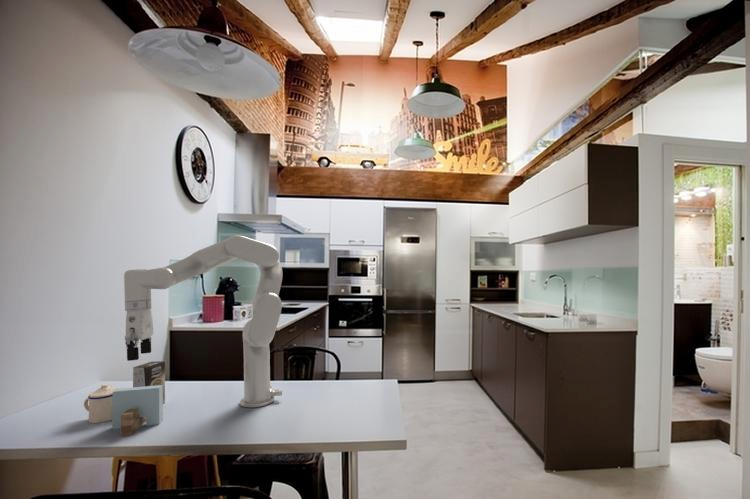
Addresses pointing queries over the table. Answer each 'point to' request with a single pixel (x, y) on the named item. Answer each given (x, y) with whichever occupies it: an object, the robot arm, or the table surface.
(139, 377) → the coffee box
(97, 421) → the teacup with lid
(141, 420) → the notched walnut block
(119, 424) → the light blue arch block
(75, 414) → the table surface
